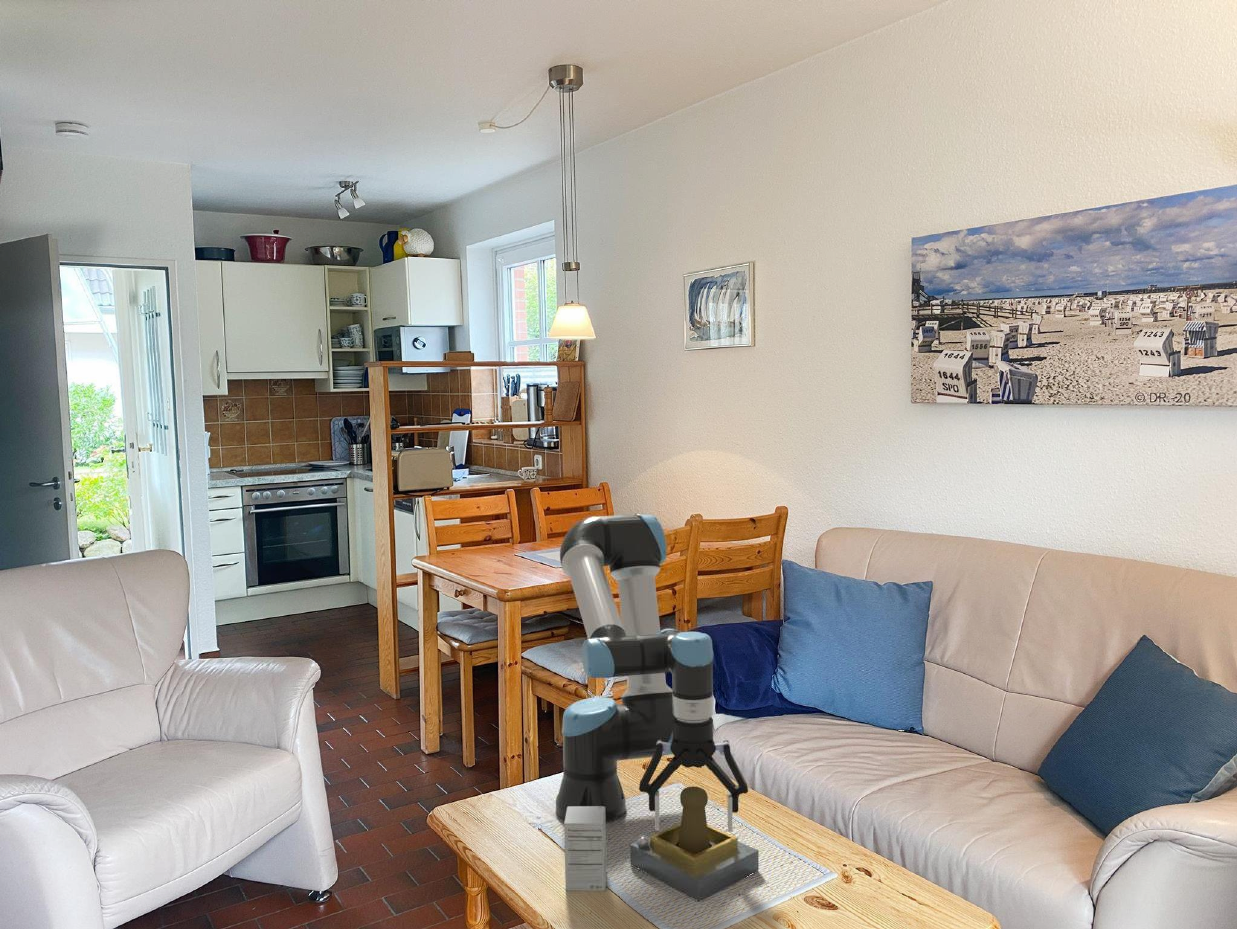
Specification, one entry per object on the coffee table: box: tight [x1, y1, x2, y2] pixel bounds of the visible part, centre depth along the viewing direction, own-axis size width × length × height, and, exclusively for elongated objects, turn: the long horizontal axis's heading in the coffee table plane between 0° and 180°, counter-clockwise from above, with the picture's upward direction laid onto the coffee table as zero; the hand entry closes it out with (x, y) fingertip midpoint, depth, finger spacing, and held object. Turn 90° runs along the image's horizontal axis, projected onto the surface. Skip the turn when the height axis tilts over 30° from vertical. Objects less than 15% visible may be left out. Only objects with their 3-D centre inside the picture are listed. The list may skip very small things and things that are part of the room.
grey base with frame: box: [629, 822, 760, 903], centre depth 173 cm, size 18×16×6 cm
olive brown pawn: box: [678, 785, 710, 854], centre depth 173 cm, size 6×6×11 cm
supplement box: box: [563, 806, 607, 892], centre depth 168 cm, size 7×7×13 cm
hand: (693, 828), depth 172 cm, fingers open, 13 cm apart
